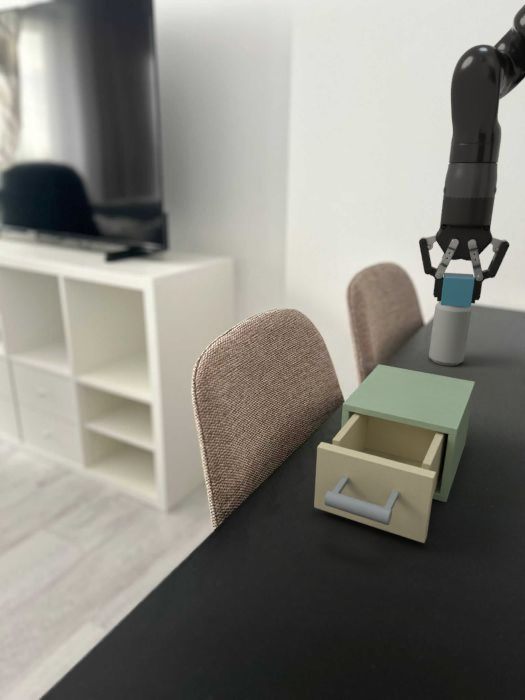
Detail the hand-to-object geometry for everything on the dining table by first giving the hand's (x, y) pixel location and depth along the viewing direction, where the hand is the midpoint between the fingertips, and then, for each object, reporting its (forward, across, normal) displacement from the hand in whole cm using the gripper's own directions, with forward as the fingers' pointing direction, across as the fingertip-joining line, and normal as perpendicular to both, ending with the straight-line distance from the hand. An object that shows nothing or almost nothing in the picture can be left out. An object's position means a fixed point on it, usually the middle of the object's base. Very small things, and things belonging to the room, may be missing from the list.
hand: (455, 300), depth 85 cm
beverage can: (+14, 0, -10) cm, 17 cm away
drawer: (+13, +7, +41) cm, 43 cm away
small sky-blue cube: (0, 0, 0) cm, 0 cm away
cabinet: (+14, +5, +29) cm, 33 cm away
